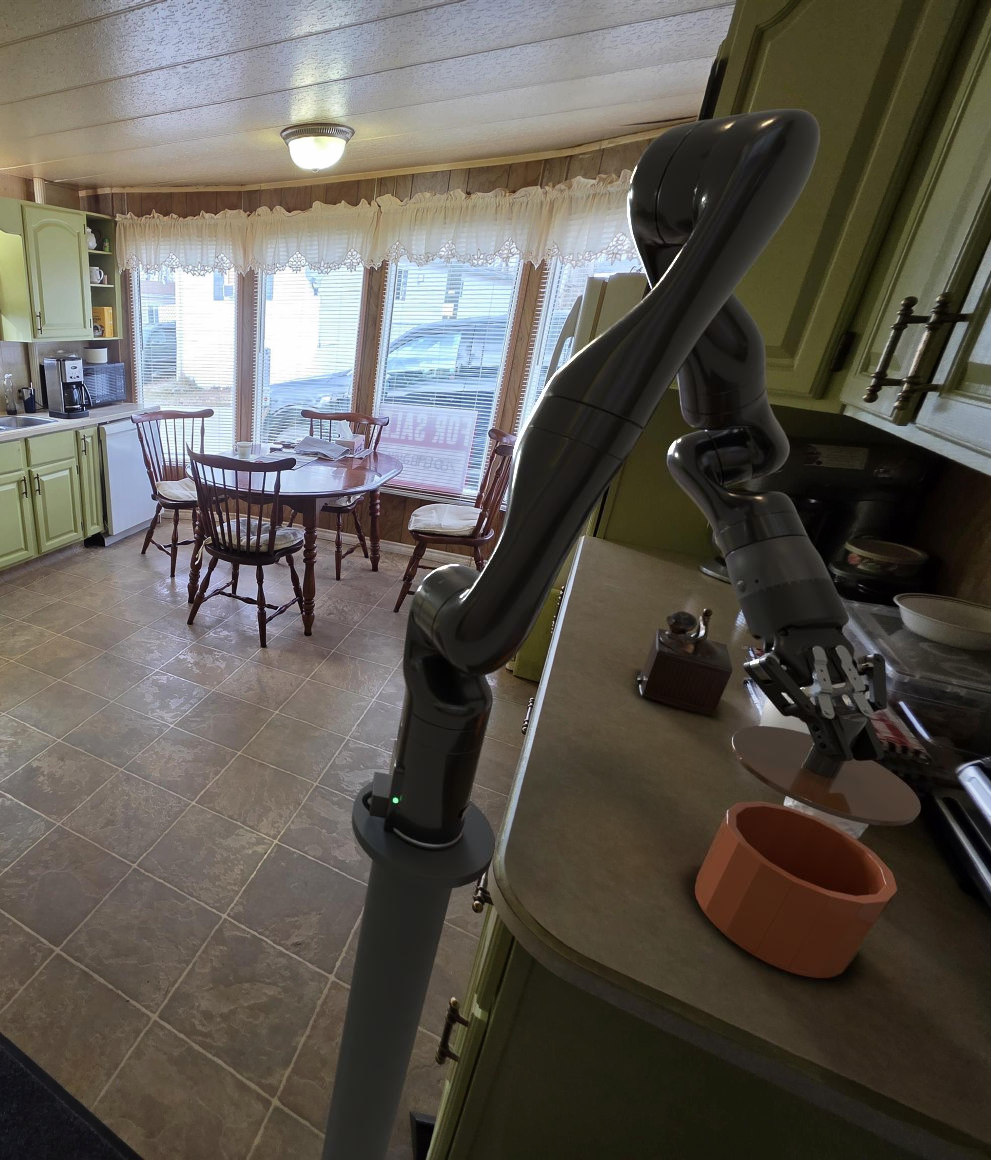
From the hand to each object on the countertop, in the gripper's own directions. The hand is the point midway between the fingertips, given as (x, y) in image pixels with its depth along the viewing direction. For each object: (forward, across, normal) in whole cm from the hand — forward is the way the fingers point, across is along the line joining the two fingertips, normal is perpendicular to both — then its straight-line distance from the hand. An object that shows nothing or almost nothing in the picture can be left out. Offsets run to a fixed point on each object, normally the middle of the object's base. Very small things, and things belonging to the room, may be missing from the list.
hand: (854, 759), depth 57 cm
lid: (+1, 0, +4) cm, 4 cm away
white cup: (+8, +17, +23) cm, 30 cm away
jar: (0, +26, +31) cm, 41 cm away
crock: (+15, 0, +16) cm, 22 cm away
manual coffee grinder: (-13, +24, +44) cm, 52 cm away
